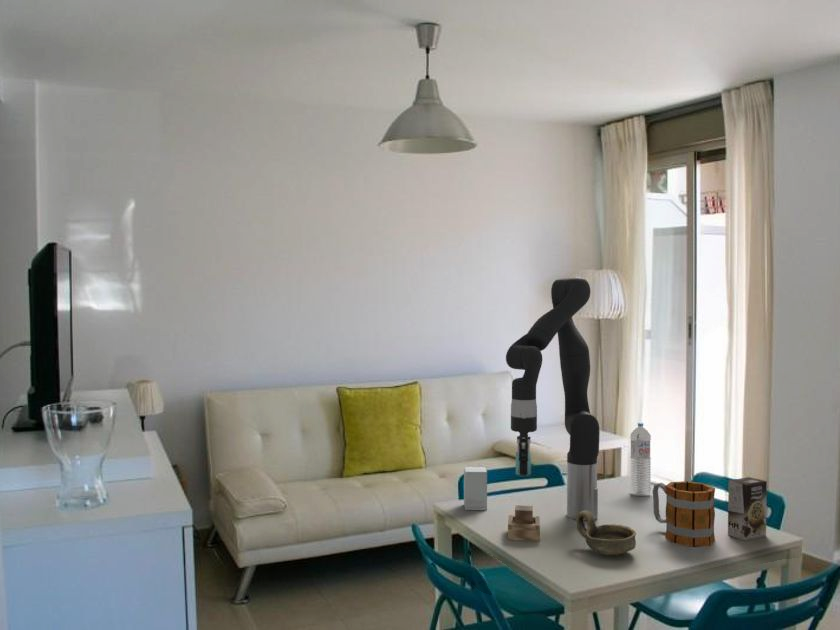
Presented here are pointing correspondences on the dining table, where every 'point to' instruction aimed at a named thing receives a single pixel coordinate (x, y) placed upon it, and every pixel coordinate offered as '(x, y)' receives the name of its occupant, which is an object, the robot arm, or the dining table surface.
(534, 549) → the dining table surface
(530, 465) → the teal cylinder
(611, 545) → the bowl
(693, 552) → the dining table surface
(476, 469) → the supplement box
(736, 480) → the coffee box
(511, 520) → the oak base
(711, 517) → the mug
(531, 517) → the walnut block
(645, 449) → the water bottle
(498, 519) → the dining table surface
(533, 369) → the robot arm
